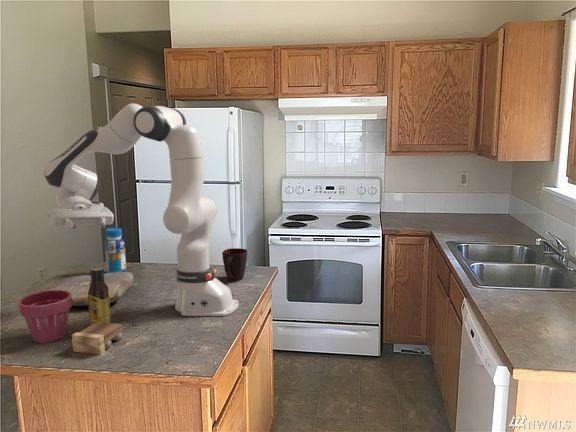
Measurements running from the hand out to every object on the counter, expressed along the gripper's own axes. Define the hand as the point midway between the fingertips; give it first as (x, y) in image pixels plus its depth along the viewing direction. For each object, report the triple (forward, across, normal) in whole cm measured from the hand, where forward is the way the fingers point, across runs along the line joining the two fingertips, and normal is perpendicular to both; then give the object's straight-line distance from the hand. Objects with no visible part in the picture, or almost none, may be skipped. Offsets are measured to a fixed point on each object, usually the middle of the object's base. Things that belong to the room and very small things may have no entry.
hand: (88, 226), depth 162 cm
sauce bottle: (+20, +1, +27) cm, 34 cm away
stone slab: (-10, +7, +34) cm, 37 cm away
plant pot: (+18, -14, +29) cm, 37 cm away
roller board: (+32, -4, +24) cm, 41 cm away
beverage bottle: (-35, +26, +38) cm, 58 cm away
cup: (+5, +60, +24) cm, 65 cm away
